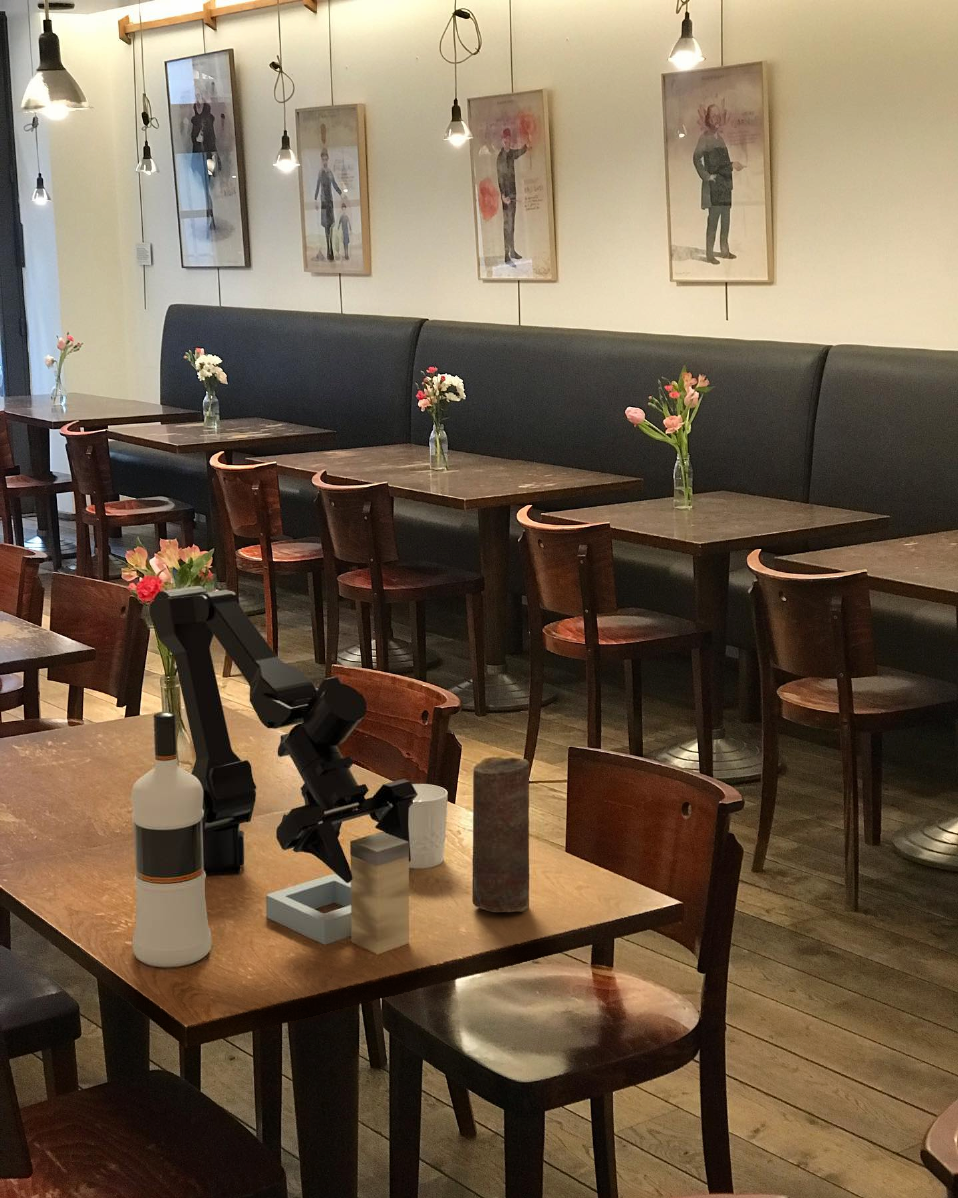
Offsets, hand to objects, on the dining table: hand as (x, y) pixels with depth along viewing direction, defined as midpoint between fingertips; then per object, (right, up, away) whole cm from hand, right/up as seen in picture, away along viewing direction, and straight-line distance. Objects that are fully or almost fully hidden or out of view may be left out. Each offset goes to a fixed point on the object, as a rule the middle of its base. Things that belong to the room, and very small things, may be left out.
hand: (379, 872), depth 194 cm
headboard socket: (-7, -8, +9) cm, 14 cm away
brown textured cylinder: (+15, -7, +12) cm, 21 cm away
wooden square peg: (0, -9, +2) cm, 9 cm away
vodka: (-25, -10, -2) cm, 27 cm away
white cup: (+4, -4, +30) cm, 30 cm away
